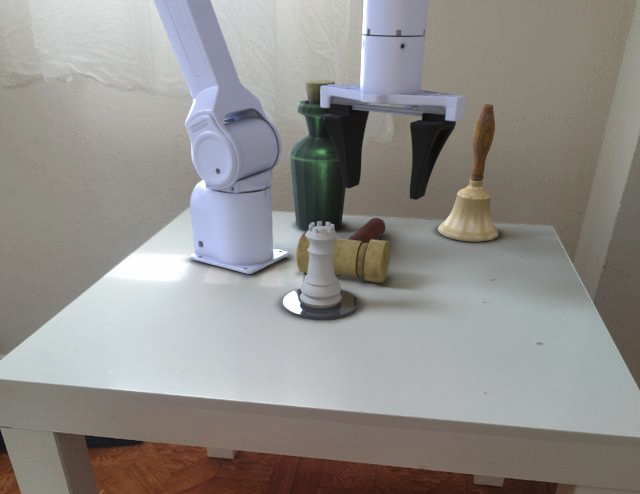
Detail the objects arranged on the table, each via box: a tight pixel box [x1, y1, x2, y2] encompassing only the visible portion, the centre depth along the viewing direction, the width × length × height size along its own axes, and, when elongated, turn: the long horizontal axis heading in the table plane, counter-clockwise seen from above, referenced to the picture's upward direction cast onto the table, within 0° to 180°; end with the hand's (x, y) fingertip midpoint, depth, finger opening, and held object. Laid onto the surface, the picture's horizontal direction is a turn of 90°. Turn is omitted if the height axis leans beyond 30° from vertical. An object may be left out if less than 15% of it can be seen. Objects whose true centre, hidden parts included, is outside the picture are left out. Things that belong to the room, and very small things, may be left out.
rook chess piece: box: [299, 221, 342, 309], centre depth 63 cm, size 4×4×8 cm
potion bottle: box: [289, 79, 347, 232], centre depth 83 cm, size 8×8×18 cm
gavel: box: [296, 217, 391, 284], centre depth 77 cm, size 21×5×10 cm
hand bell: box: [437, 103, 499, 243], centre depth 81 cm, size 8×8×16 cm
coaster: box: [282, 288, 359, 321], centre depth 65 cm, size 8×8×1 cm
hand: (383, 191), depth 63 cm, fingers open, 7 cm apart
